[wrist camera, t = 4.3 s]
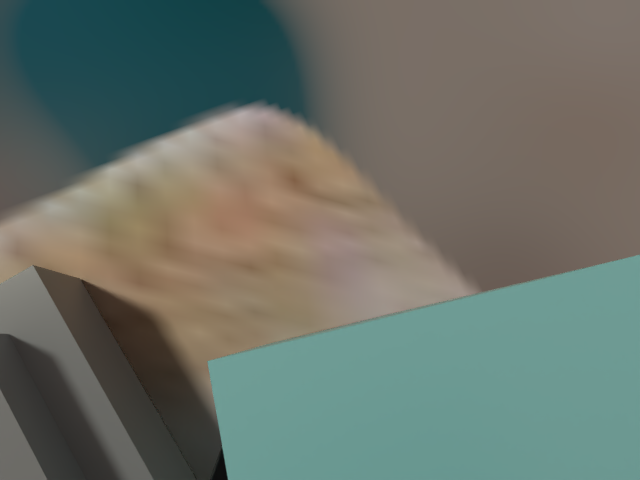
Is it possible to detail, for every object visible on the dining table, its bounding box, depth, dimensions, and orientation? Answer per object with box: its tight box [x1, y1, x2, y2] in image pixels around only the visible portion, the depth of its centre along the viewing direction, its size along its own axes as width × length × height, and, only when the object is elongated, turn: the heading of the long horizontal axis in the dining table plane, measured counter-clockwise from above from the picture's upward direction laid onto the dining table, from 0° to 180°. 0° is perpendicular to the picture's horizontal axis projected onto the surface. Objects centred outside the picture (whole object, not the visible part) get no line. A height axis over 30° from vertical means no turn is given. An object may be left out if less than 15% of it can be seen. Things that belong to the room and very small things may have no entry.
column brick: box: [207, 255, 640, 480], centre depth 10 cm, size 5×5×12 cm
